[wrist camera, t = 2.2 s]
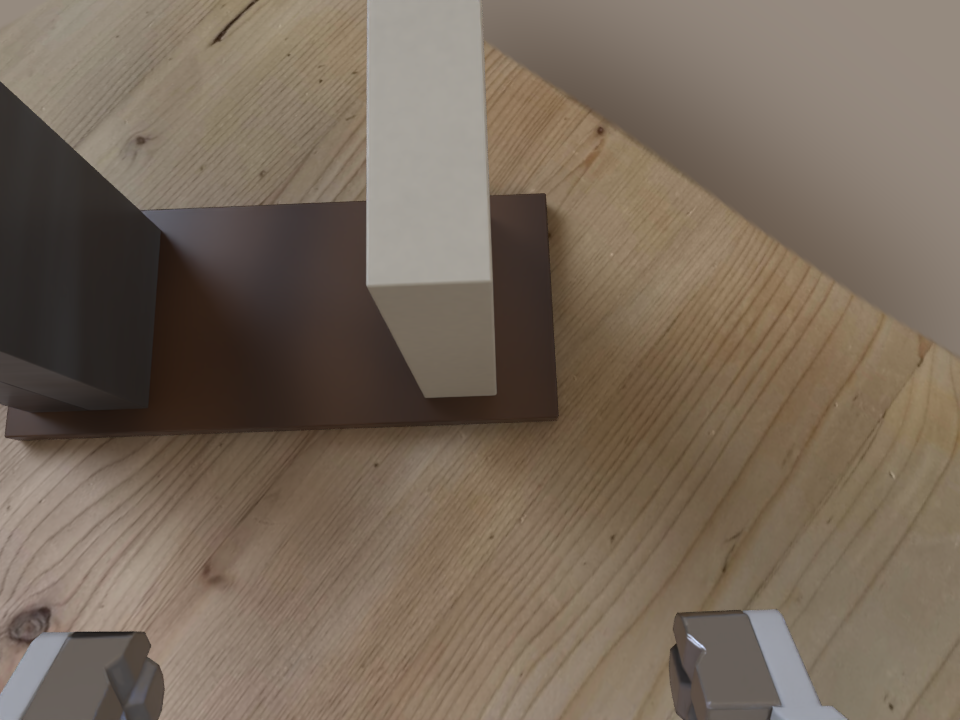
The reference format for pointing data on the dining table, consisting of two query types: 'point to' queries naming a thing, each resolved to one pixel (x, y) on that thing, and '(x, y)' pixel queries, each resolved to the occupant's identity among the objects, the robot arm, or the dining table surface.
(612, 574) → the dining table surface
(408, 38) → the white book
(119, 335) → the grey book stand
